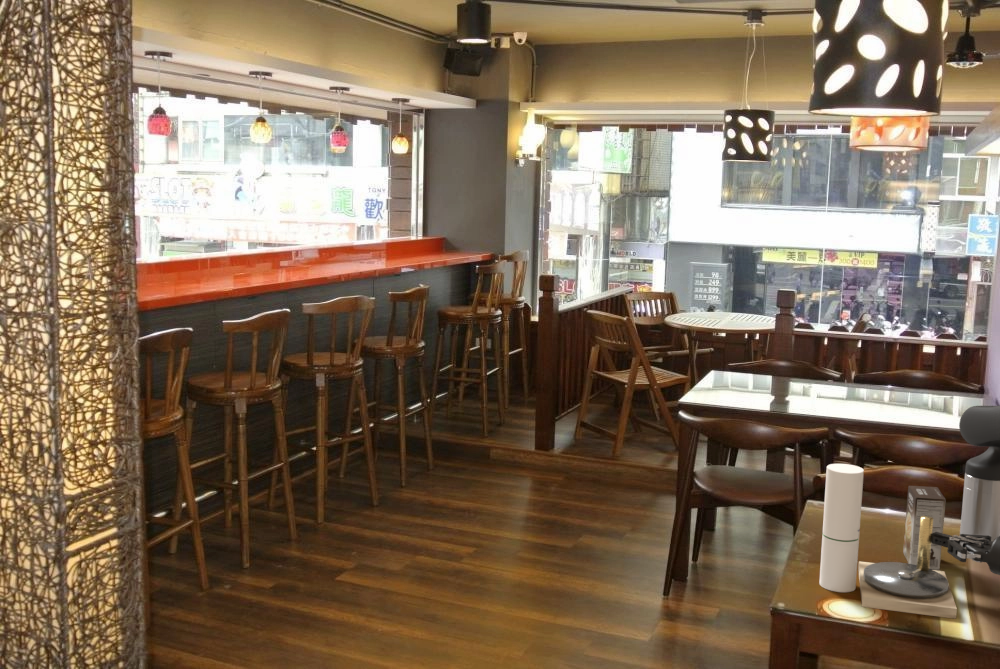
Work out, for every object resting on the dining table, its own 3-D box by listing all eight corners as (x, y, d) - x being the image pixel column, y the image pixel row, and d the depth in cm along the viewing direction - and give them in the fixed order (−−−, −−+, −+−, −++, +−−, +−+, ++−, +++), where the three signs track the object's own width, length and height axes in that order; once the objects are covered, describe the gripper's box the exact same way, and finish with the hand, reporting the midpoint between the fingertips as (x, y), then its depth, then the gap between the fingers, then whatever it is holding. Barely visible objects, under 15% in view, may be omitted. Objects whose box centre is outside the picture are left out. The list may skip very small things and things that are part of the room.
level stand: (858, 570, 217) (859, 559, 217) (943, 580, 212) (944, 569, 212) (862, 606, 198) (862, 595, 198) (956, 618, 193) (956, 607, 193)
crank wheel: (923, 605, 194) (927, 544, 192) (848, 579, 206) (851, 522, 204) (963, 584, 204) (968, 526, 202) (889, 561, 216) (893, 506, 214)
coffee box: (902, 553, 228) (907, 484, 225) (932, 555, 226) (937, 486, 224) (909, 568, 219) (915, 496, 216) (941, 570, 217) (947, 499, 215)
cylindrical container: (858, 583, 210) (866, 467, 206) (851, 595, 204) (859, 475, 200) (823, 576, 213) (831, 461, 210) (815, 587, 207) (823, 469, 204)
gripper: (1035, 534, 199) (948, 512, 211) (1007, 550, 190) (918, 526, 203) (1032, 570, 200) (946, 547, 212) (1004, 588, 191) (916, 562, 204)
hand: (932, 537), depth 208 cm, fingers closed
